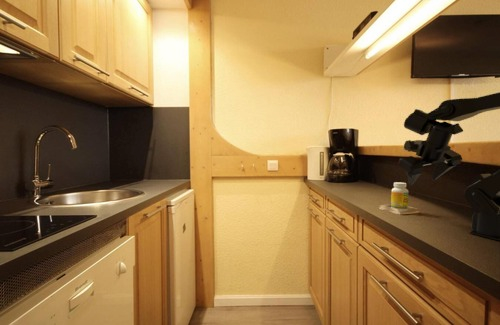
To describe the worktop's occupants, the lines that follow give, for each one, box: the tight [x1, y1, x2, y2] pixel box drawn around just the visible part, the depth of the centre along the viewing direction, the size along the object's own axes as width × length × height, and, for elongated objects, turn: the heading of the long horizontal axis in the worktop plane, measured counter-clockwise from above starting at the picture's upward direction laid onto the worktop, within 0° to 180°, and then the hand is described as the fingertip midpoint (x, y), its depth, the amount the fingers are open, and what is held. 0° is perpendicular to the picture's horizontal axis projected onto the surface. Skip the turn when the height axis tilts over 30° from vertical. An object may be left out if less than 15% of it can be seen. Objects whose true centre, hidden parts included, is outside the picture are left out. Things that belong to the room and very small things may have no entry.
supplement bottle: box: [390, 181, 409, 210], centre depth 96 cm, size 5×5×10 cm
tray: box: [379, 203, 420, 216], centre depth 96 cm, size 9×9×1 cm
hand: (421, 181), depth 89 cm, fingers open, 9 cm apart
